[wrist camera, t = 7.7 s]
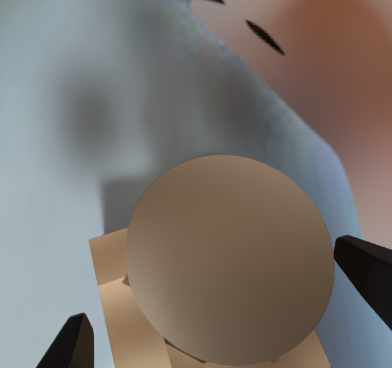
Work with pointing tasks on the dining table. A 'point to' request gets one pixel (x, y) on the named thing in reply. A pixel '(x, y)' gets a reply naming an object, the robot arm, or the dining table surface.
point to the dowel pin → (229, 260)
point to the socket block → (147, 335)
